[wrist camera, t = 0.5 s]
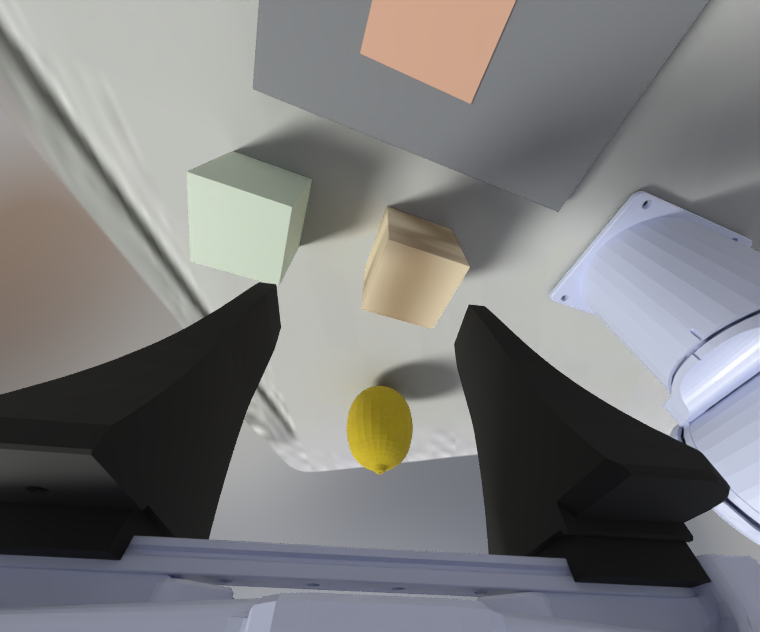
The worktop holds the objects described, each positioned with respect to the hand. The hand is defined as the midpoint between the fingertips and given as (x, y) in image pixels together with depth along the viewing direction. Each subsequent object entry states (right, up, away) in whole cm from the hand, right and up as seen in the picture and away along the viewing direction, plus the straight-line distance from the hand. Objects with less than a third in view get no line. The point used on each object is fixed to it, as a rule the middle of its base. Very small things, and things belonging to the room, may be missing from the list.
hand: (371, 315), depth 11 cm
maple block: (+2, +5, +9) cm, 10 cm away
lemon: (0, -7, +17) cm, 19 cm away
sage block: (-6, +7, +7) cm, 11 cm away
